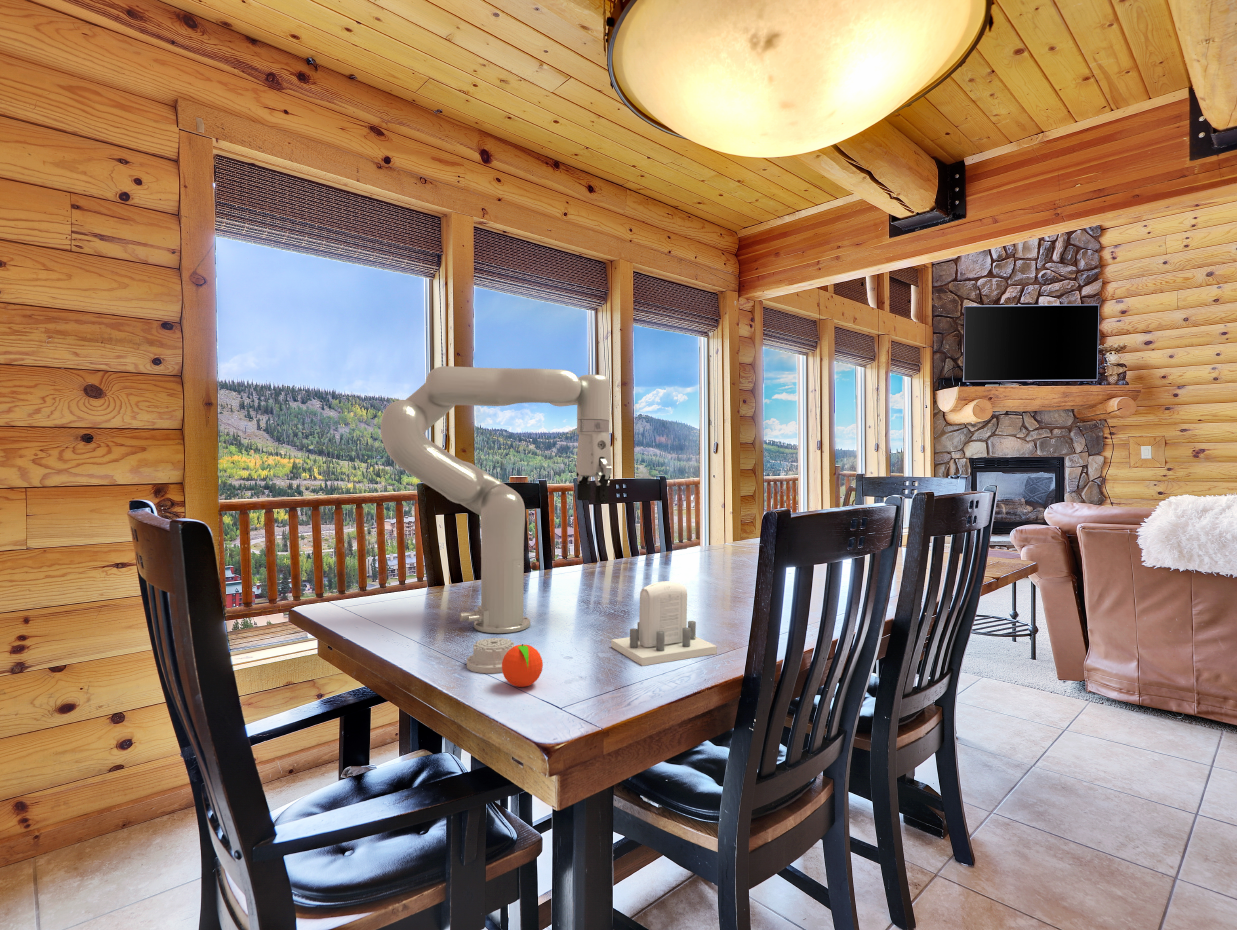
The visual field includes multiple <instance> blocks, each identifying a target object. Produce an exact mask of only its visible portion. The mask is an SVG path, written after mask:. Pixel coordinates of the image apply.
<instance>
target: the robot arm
mask: <svg viewBox="0 0 1237 930" xmlns="http://www.w3.org/2000/svg"><path fill="white" fill-rule="evenodd" d="M610 386H611V385H610V379H609V377H607V376H606V375H603V374H584V375H580V376H579V377H578V376H577V375H576V374H575V373H574V372H573V371H570V370H567V369H558V368H557V369H555V368H554V369H553V368H513V367H512V368H511V367H510V368H509V367H508V368H507V367H501V368H499V367H476V366H475V367H473V366H472V367H471V366H451V365H450V366H449V365H447V366H445V365H444V366H438V367H434V368H433V369H431V370H430V372H429V373H428V374H427V376H426V379H425V383H424V384H422V385H421V386H420V387H419V388H418V389H417V390H416V391H414V392H413V393H412V394H410V396H408V397H407V398H406V399H399V400H395V401H393V402H391V403H390V404H389V405H387V406H386V408H385V409H384V411H383V413H382V417H381V421H380V435H381V441H382V444H383V447H384V448H385V451H386V453H387V454H388V456H389V457H390V458H391V460H392V461H393V462H394V463H395V464H396V465H397V466H399V467H400V468H401V469H402V470H404V471H405V472H407V473H408V474H410V475H411V476H412V477H414V478H416V479H418V480H419V481H420V482H422V483H423V484H425V485H426V486H428V487H430V488H431V489H433V490H434V491H436V492H438V493H439V494H440V495H442V496H444V497H445V498H446V499H447V500H449V501H450V502H452V503H455V504H460V505H462V506H463V507H465V508H467V509H468V510H470V511H471V512H473V513H475V514H477V515H479V516H480V517H481V522H480V523H481V524H480V526H481V527H480V528H481V529H480V530H481V533H480V537H481V538H480V539H481V540H480V541H481V542H480V558H481V559H480V562H481V563H480V564H481V565H480V566H481V569H480V570H481V571H480V576H481V577H480V578H481V579H480V583H481V584H480V605H477V607H476V609H473V610H472V611H462V612H459V615H458V616H459V622H466V621H467V622H468V623H471V622H473V628H474V629H475V630H476V631H479V632H482V633H487V634H509V633H516V632H521V631H524V630H526V629H527V628H529V627H530V626H531V619H530V618H529V617H526V616H524V590H525V588H524V585H525V584H524V580H525V579H524V575H525V574H524V571H525V569H524V567H525V566H524V565H525V564H524V563H525V561H524V558H525V557H524V555H525V554H524V553H525V551H524V549H525V547H524V546H525V526H526V525H525V524H526V507H525V503H524V499H523V498H522V496H521V494H520V493H518V492H517V491H516V490H514V488H512V487H510V486H508V485H506V484H505V483H504V482H502V481H500V479H497V478H495V477H494V476H492V475H491V474H489V473H487V472H486V471H484V470H483V469H481V468H479V467H478V466H477V465H475V464H473V463H471V462H469V461H464V460H462V459H460V458H458V457H457V456H455V455H453V454H452V453H450V452H448V451H447V450H445V449H443V448H442V447H440V446H439V445H438V444H436V443H434V442H433V441H431V439H429V438H428V437H427V436H426V435H425V432H427V431H428V430H429V429H430V428H431V427H432V426H433V425H435V424H436V423H437V422H438V421H439V420H441V418H443V417H444V416H445V415H446V414H448V413H449V412H450V411H451V410H452V409H453V408H455V406H478V407H479V406H484V407H504V406H505V407H506V406H511V405H516V404H524V403H525V404H526V403H530V404H531V403H536V404H538V403H541V404H542V403H544V404H550V405H552V406H554V407H559V408H560V407H561V408H562V407H569V406H576V407H577V408H576V435H578V440H577V451H576V454H577V456H576V464H575V469H576V478H577V479H576V483H577V492H576V495H577V500H578V501H590V500H591V483H589V482H590V480H591V478H594V482H595V484H596V485H594V504H608V503H609V486H610V480H611V476H612V472H613V471H612V470H613V469H612V468H613V467H612V465H613V464H612V449H611V439H610V393H611V392H610V390H611V389H610Z"/></svg>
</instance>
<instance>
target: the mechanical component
mask: <svg viewBox="0 0 1237 930" xmlns="http://www.w3.org/2000/svg"><path fill="white" fill-rule="evenodd" d="M514 646H515V641H512V639H509V638H504V637H502V638H500V637H492V638H483V639H479V640H477V641H476V642H475V643H474V644H473V646H472V647H473V649H472V652H473V654H471V655H469V656H467V658H466V669H468V670H470V671H471V672H474V673H479V674H499V673H503V672H502V661H503V658H504V656H505V654H506V653H507V652H508V651H509V650H510V649H511V648H513V647H514Z"/></svg>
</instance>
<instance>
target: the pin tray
mask: <svg viewBox="0 0 1237 930" xmlns="http://www.w3.org/2000/svg"><path fill="white" fill-rule="evenodd" d="M696 623H697V622H696V621H694V620H687V627H685V628H682V642H678V643H672V644H665V645H664V643H665V632H664V631H657V632H656V646H652V647H644V646H642V645H640V642H639V621H637V628H634V627H633V628H630V629H629V636H627V637H622V638H615V639H614V638H613V639H611V641H610V643H611V647H610V648H612V649H614V650H615V651H617V652H618V653H621V654H623V655H624V656H625V657H627V658H629V659H630V660H632V661H634V662H635V663H637V664H639V665H640V666H642V667H643V666H649V665H650V666H651V665H655V664H663V663H669V662H672V661H681V660H686V659H693V658H699V657H705V656H711V655H716V654H718V646H717V645H715V644H714V643H712V642H708V641H707V640H704V639H702V638H700V637H698V636H696V632H697V631H696V629H697V628H696V627H697V625H696Z"/></svg>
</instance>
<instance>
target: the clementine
mask: <svg viewBox="0 0 1237 930" xmlns="http://www.w3.org/2000/svg"><path fill="white" fill-rule="evenodd" d="M543 664H544V662H543V659H542V656H541V654H540V652H539V651H538V649H536V648H535V647H533V646H532V645H529V644H523V643H521V644H517V645H516V644H515V645H514V647H513V648H511V649H510V650H509V651H508V652H507V653H506V654H505V656H504V658H503V661H502V672H501V673H502V674H503V677H504V679H505V680H506V681H507V682H508V683H509V684H510V685H512V686H514V687H518V688H524V687H529V686H531V685H533V684H535V682H537V680H539V678H540V677H541V674H542V672H543V667H544V665H543Z"/></svg>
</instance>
